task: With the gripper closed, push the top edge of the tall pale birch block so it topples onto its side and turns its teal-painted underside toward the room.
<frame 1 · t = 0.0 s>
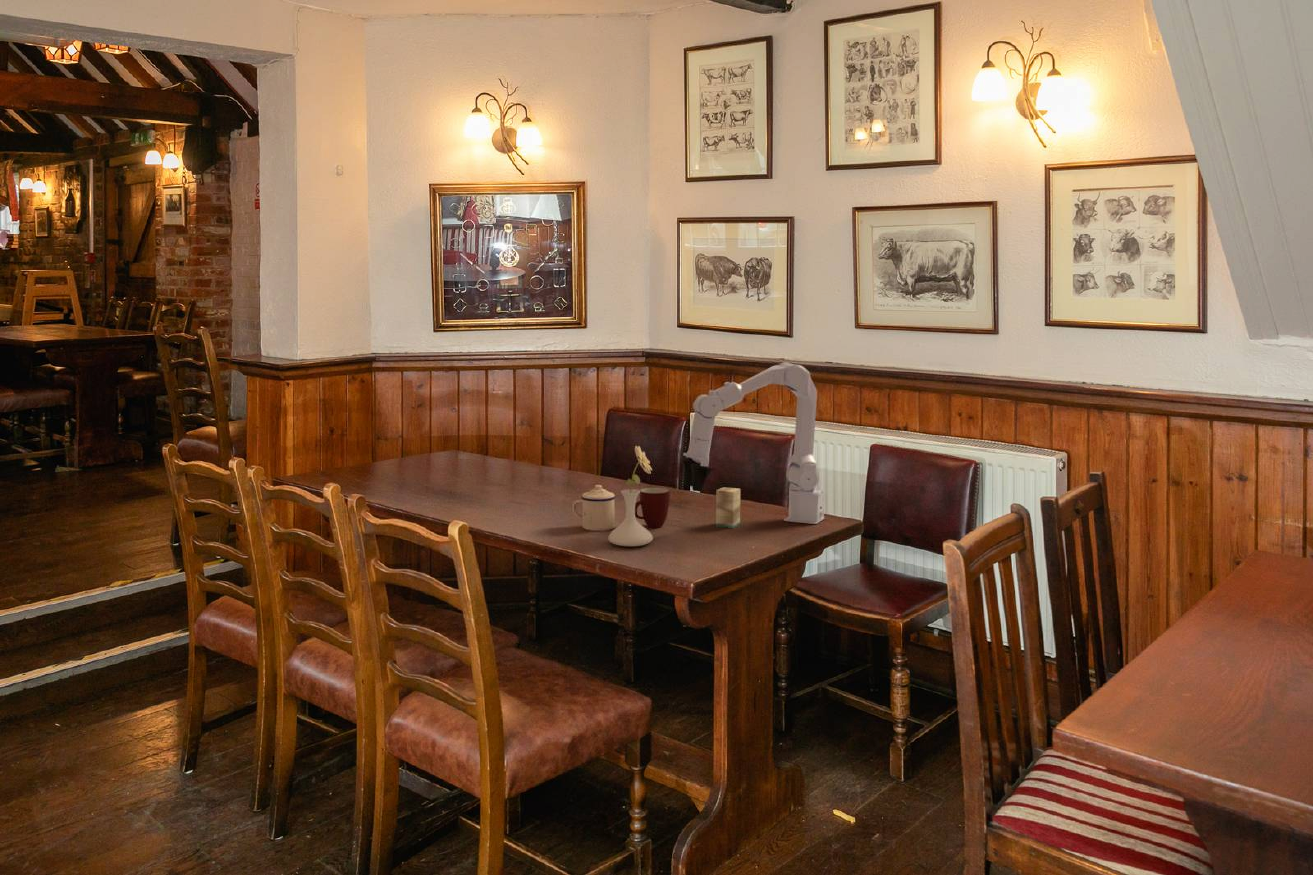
hand: (692, 488, 296), 11 cm above the table, tool pointing down, fingers open, 7 cm apart
birch block: (728, 525, 299), on the table
teacup with lid: (593, 528, 297), on the table
flower in vase: (632, 544, 278), on the table
mug: (651, 527, 297), on the table
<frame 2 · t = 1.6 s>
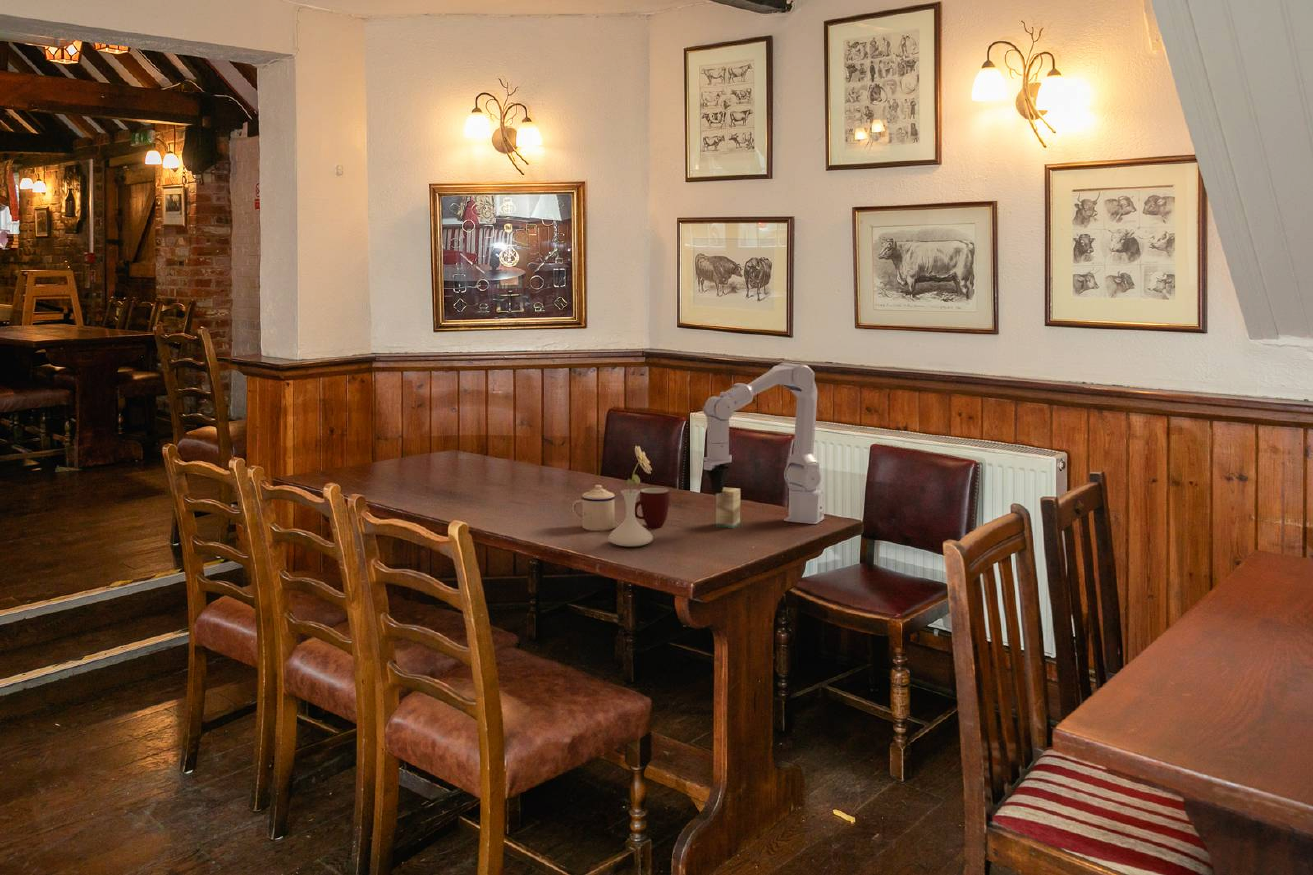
hand: (717, 492, 290), 10 cm above the table, tool pointing down, fingers closed
nothing on the table moved.
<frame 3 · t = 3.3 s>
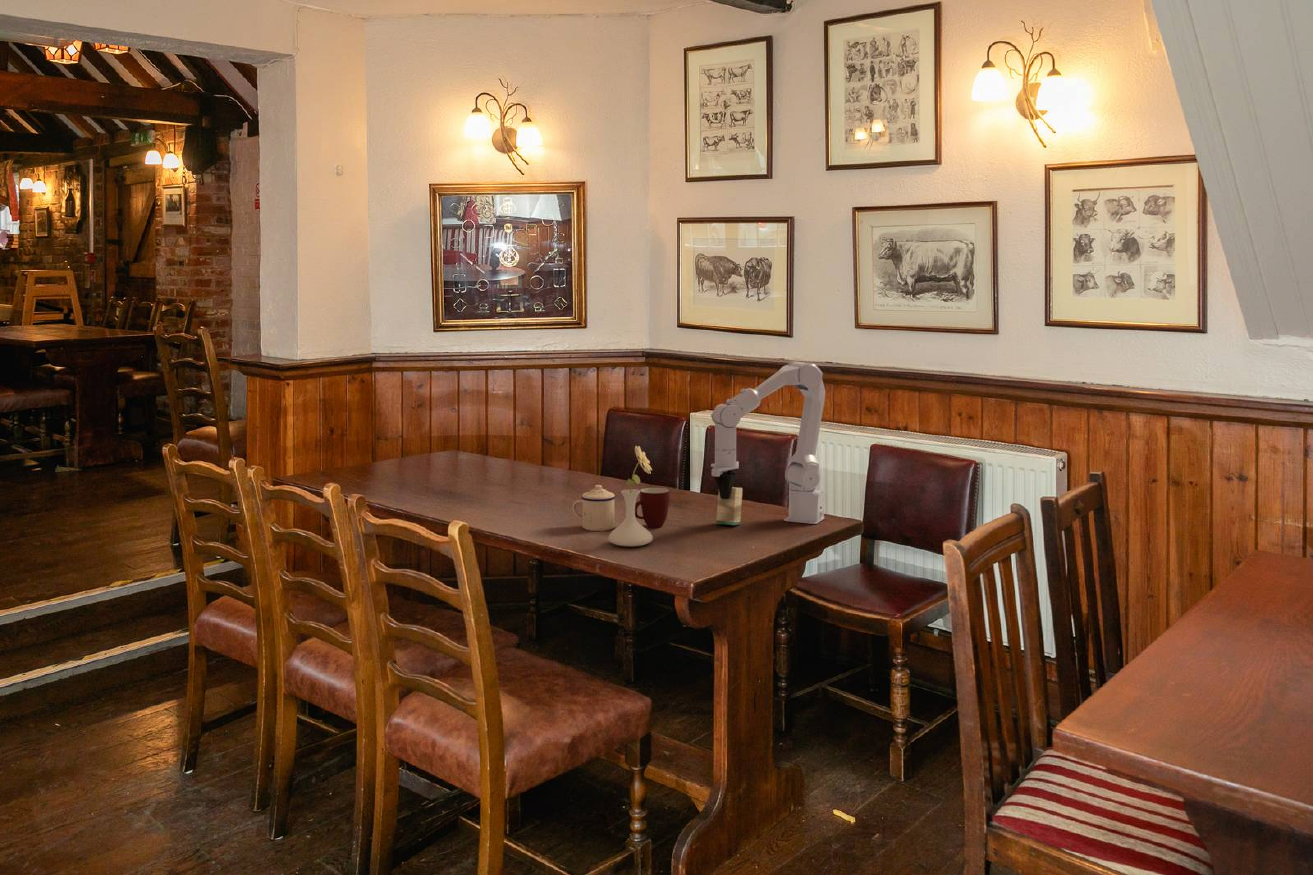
hand: (725, 498, 295), 8 cm above the table, tool pointing down, fingers closed
birch block: (728, 523, 299), on the table, tilted 9°
everything else where it was.
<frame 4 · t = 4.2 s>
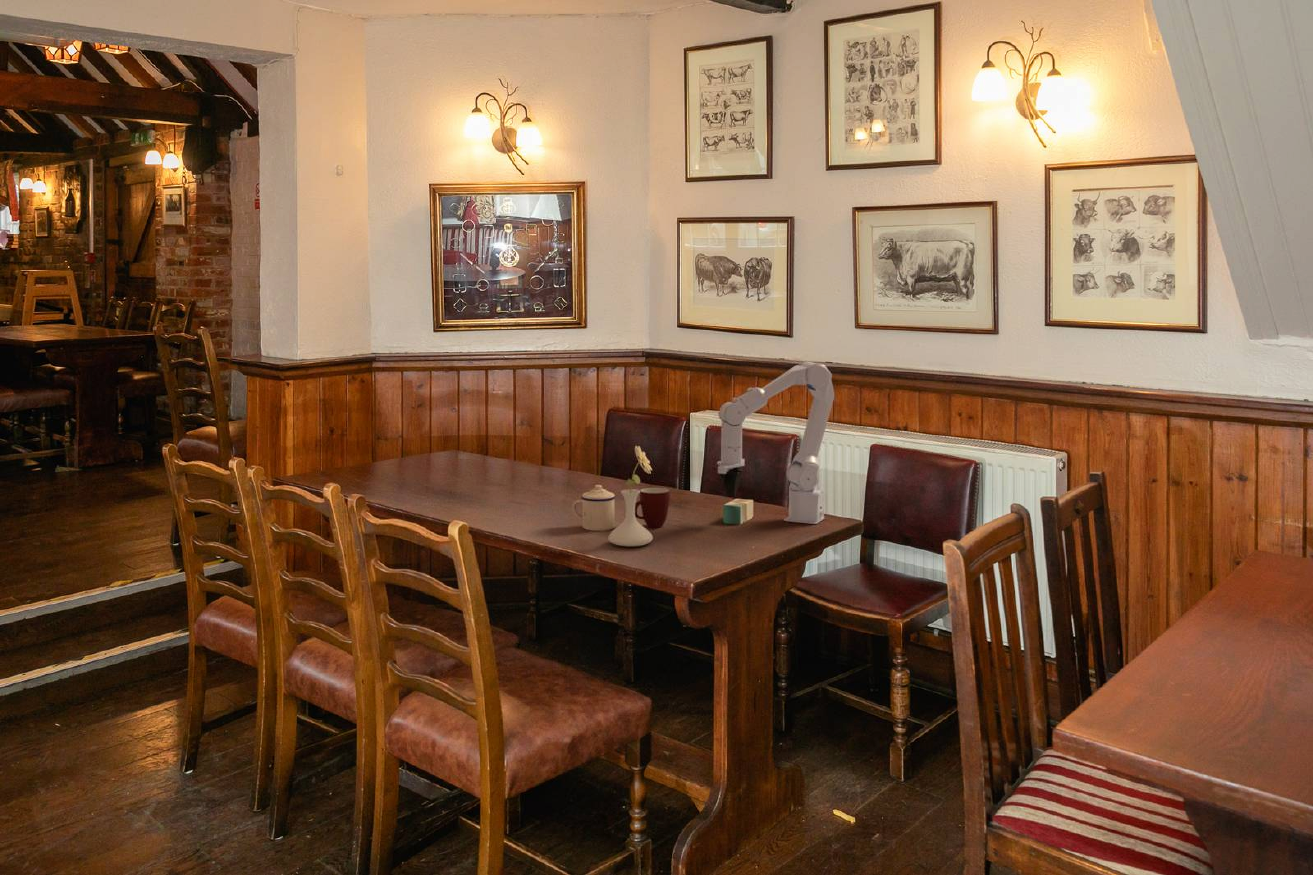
hand: (731, 495, 299), 8 cm above the table, tool pointing down, fingers closed
birch block: (731, 514, 301), point 2 cm above the table, tilted 90°
everything else where it was.
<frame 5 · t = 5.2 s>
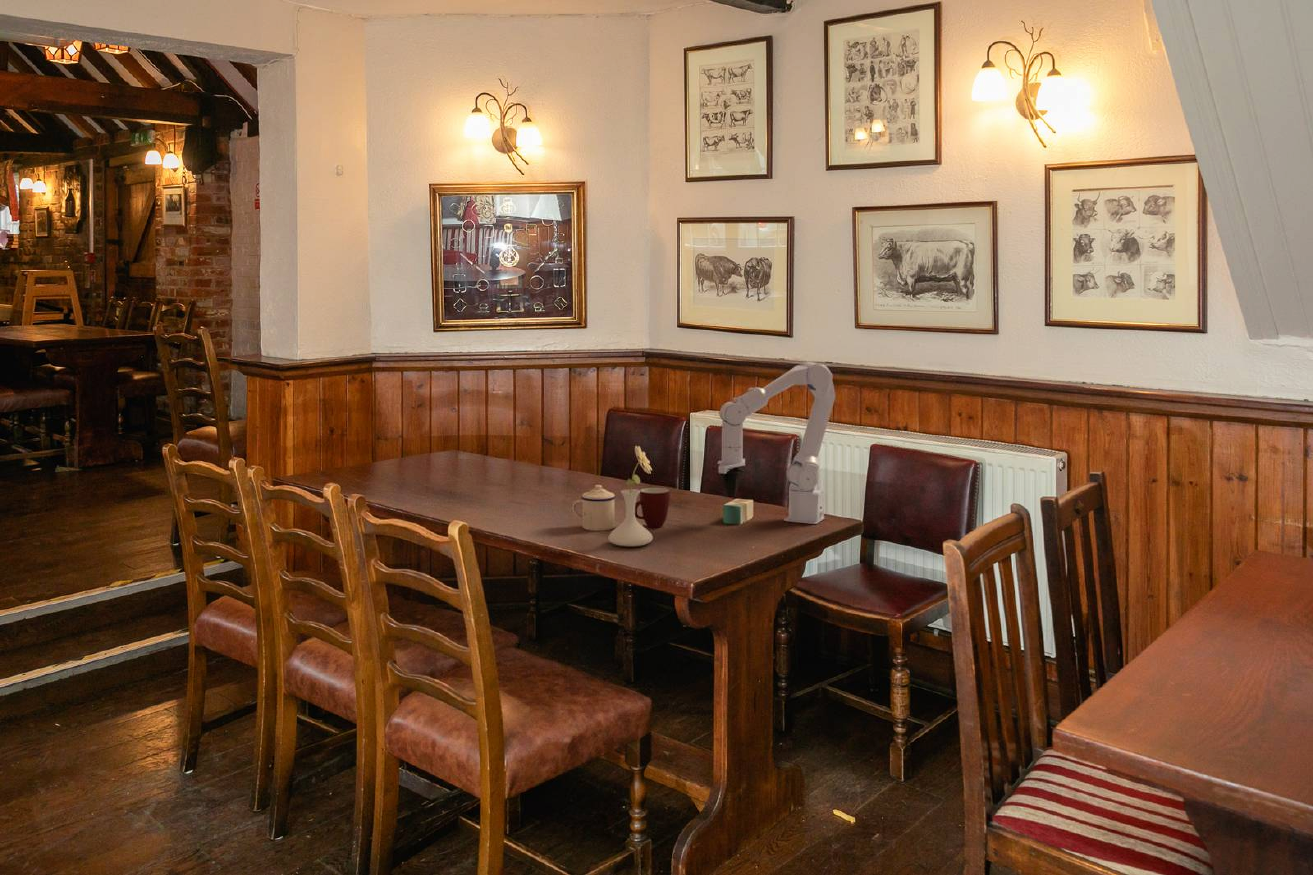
hand: (731, 495, 300), 8 cm above the table, tool pointing down, fingers closed
nothing on the table moved.
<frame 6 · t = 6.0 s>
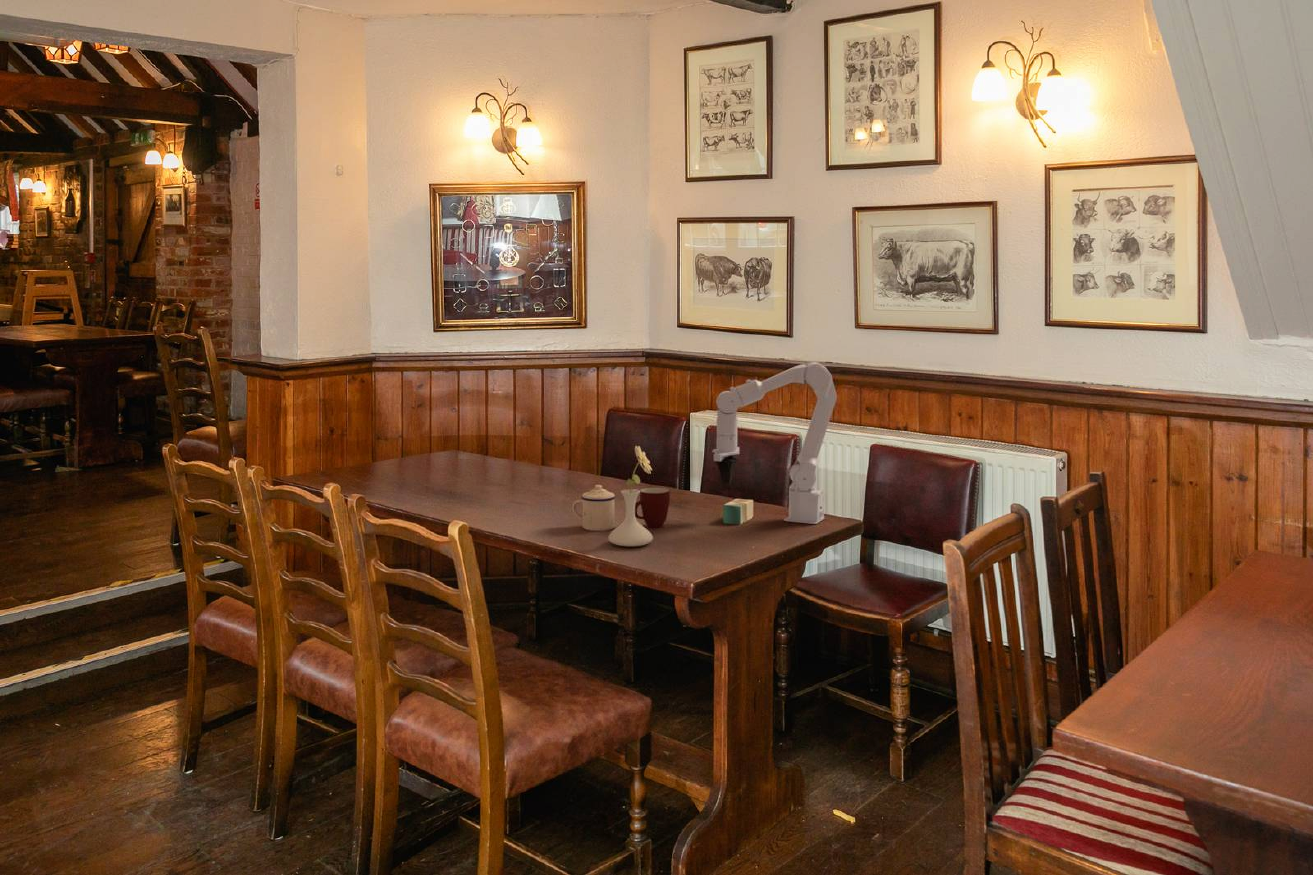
hand: (726, 483, 304), 10 cm above the table, tool pointing down, fingers closed
nothing on the table moved.
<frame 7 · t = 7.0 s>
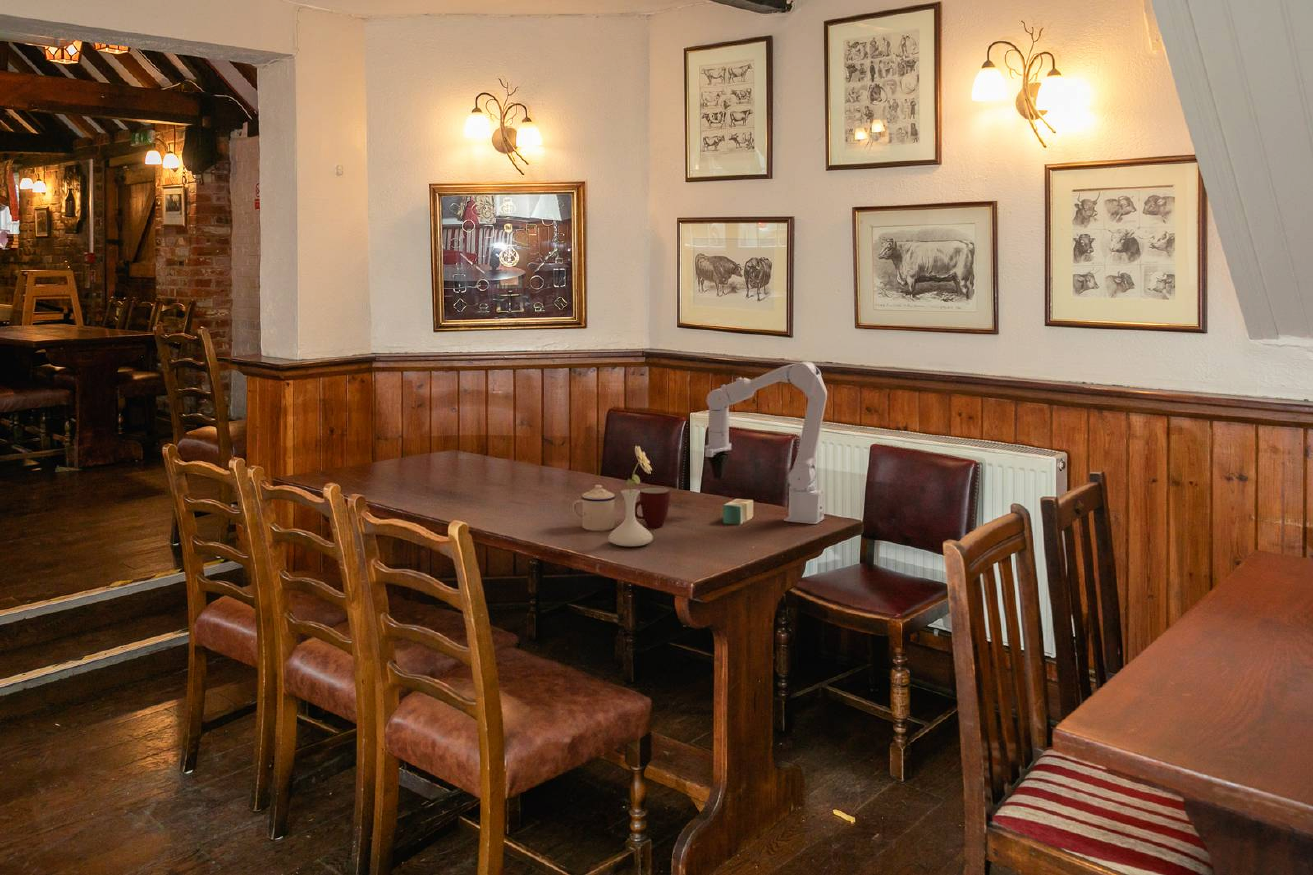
hand: (718, 478, 311), 10 cm above the table, tool pointing down, fingers closed
nothing on the table moved.
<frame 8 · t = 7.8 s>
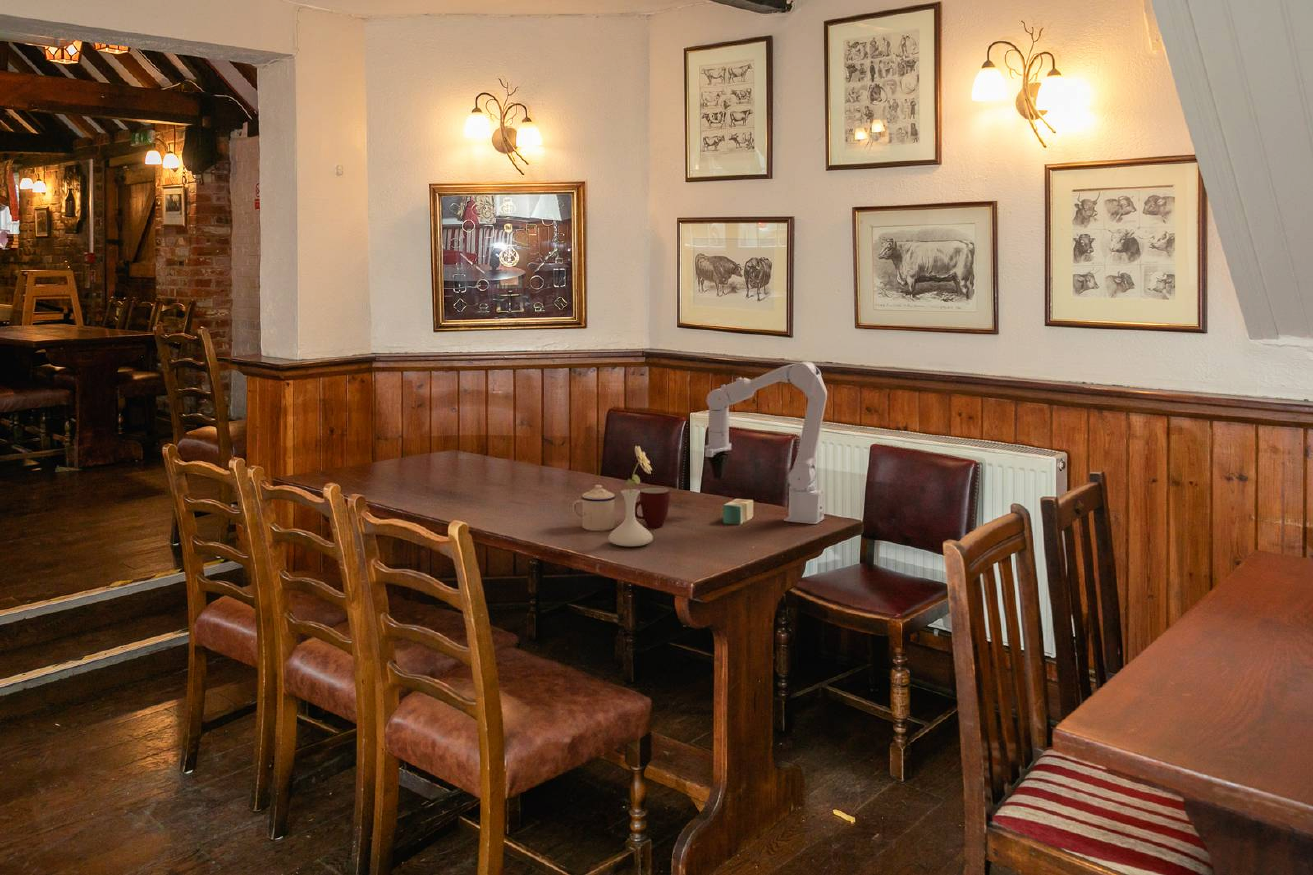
hand: (718, 478, 311), 10 cm above the table, tool pointing down, fingers closed
nothing on the table moved.
at the end: birch block tilted 90°; birch block 1.1 cm from the target spot, point 2.4 cm above the table; the gripper is holding nothing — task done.
